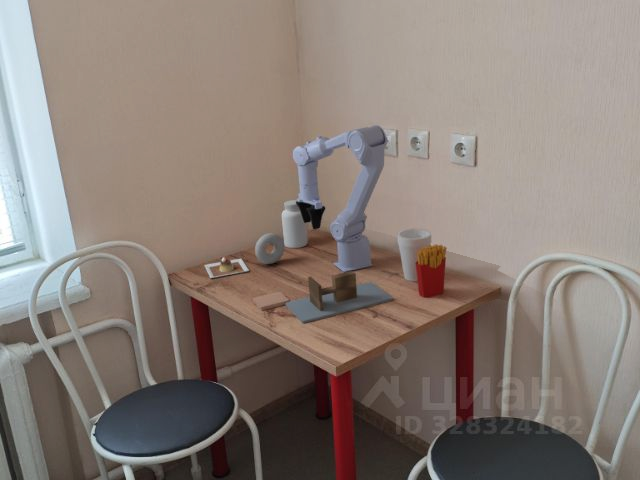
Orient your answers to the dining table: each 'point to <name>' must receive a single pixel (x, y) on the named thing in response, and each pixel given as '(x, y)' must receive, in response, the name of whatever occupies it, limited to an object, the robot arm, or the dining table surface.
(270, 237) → the donut
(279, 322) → the dining table surface
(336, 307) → the mat
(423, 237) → the foam cup
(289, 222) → the pill bottle
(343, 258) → the robot arm
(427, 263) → the french fries
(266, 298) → the tile
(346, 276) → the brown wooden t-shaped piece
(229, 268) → the white frame and cone
